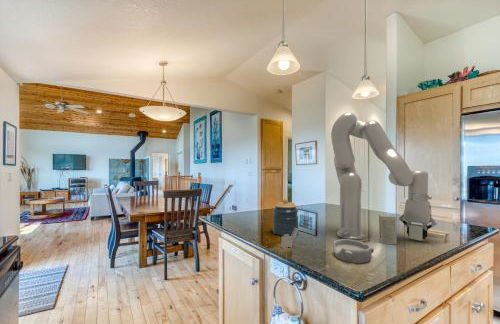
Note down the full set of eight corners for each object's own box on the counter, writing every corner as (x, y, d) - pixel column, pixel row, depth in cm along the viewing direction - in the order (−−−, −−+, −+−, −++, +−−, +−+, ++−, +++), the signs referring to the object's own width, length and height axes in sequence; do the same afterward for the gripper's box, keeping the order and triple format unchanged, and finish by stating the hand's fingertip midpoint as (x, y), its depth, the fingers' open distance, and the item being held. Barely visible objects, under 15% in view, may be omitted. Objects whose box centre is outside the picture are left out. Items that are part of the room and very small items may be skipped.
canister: (302, 232, 129) (302, 198, 130) (292, 238, 118) (292, 200, 119) (279, 229, 136) (279, 196, 136) (268, 234, 125) (268, 199, 126)
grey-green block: (421, 240, 111) (422, 227, 111) (408, 238, 115) (409, 225, 115) (424, 238, 115) (424, 225, 115) (411, 236, 118) (412, 223, 118)
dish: (352, 267, 85) (352, 252, 85) (324, 254, 98) (324, 241, 98) (382, 260, 91) (382, 246, 91) (352, 249, 103) (352, 237, 104)
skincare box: (394, 242, 113) (394, 214, 113) (396, 244, 109) (396, 216, 109) (378, 240, 115) (378, 213, 115) (380, 243, 111) (380, 215, 111)
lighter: (282, 248, 104) (282, 228, 104) (281, 246, 106) (281, 227, 106) (298, 247, 105) (298, 228, 105) (297, 246, 107) (297, 227, 107)
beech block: (443, 244, 111) (443, 235, 111) (422, 240, 117) (422, 231, 117) (449, 241, 116) (449, 232, 116) (428, 237, 122) (428, 229, 122)
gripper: (442, 199, 111) (441, 240, 111) (399, 195, 124) (398, 232, 123) (438, 200, 106) (438, 243, 106) (394, 196, 119) (393, 234, 118)
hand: (416, 236), depth 115 cm, fingers closed on grey-green block, 5 cm apart
